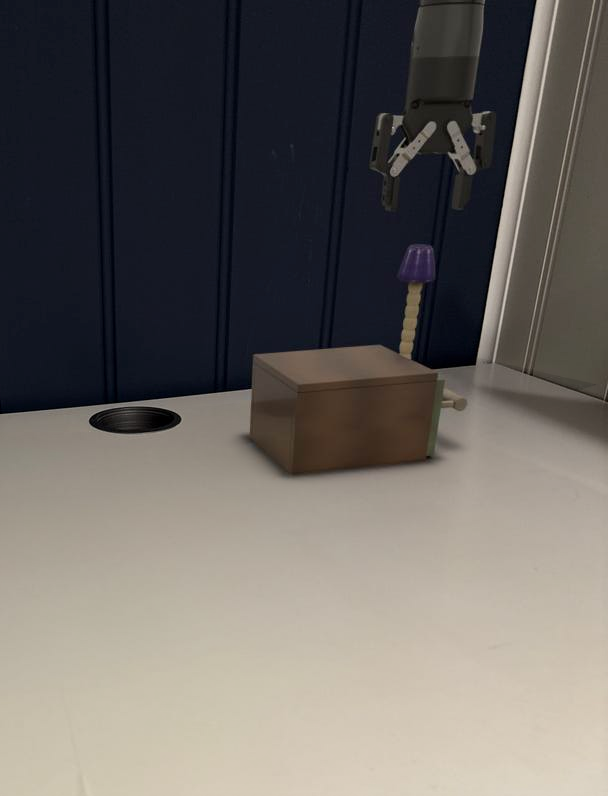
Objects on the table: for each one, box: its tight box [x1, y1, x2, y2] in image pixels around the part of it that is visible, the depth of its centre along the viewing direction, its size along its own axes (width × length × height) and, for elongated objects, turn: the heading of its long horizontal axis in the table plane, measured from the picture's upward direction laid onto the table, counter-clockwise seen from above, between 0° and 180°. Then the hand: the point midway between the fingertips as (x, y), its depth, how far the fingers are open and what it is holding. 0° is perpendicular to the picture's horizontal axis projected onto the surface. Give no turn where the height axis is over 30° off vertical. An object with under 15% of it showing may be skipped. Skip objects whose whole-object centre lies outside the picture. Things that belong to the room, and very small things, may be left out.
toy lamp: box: [397, 243, 436, 360], centre depth 121 cm, size 5×5×17 cm
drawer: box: [426, 375, 468, 457], centre depth 97 cm, size 18×11×8 cm, turn 103°
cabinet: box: [249, 344, 439, 476], centre depth 97 cm, size 15×13×10 cm
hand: (424, 209), depth 114 cm, fingers open, 8 cm apart
